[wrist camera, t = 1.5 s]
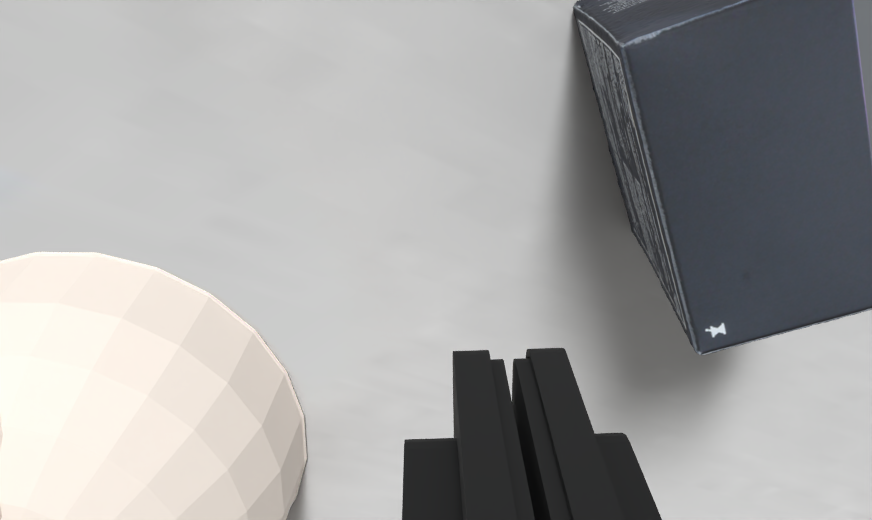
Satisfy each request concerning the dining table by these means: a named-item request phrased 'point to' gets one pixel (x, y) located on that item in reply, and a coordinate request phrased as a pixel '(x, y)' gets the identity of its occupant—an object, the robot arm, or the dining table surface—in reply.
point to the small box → (739, 156)
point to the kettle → (137, 398)
